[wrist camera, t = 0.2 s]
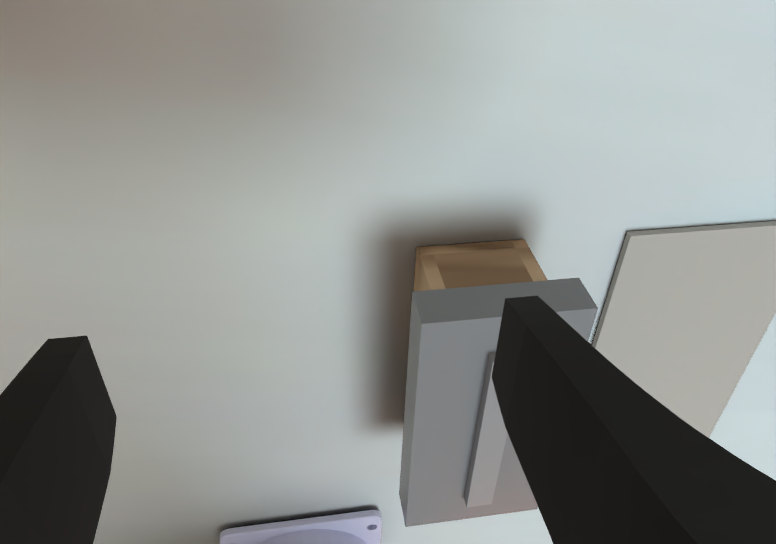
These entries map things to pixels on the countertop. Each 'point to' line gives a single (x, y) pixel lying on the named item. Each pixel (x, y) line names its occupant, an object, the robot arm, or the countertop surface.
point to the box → (475, 265)
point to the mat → (690, 313)
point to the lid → (467, 401)
